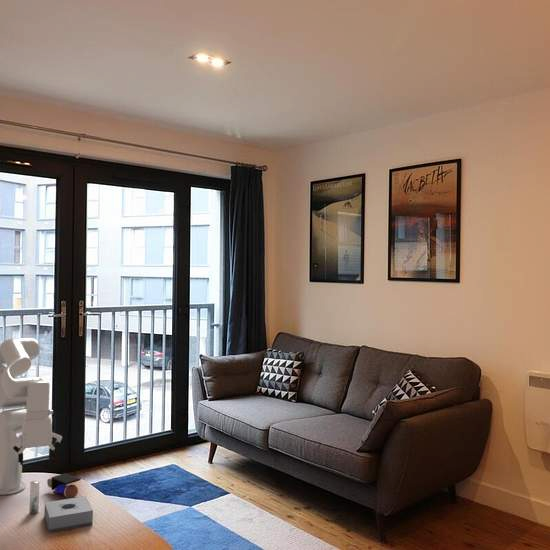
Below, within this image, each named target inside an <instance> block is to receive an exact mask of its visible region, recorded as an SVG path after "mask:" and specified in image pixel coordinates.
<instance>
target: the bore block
mask: <svg viewBox="0 0 550 550" xmlns="http://www.w3.org/2000/svg"><path fill="white" fill-rule="evenodd" d="M93 515H94V510H93V508H92V505H91V503H90V501H89V500H88V498H87V496H85V495H84V496H77V497H73V498H65V499H59V500H53V501H52V500H51V501H47V502H46V501H45V502H44V516H43V517H44V520H45V524H46V527H47V530H48V533H55V532H60V531H65V530H71V529H77V528H82V527H88V526H93V524H94V523H93V522H94V521H93V517H94V516H93Z"/></svg>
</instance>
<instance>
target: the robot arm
mask: <svg viewBox="0 0 550 550" xmlns="http://www.w3.org/2000/svg"><path fill="white" fill-rule="evenodd" d="M39 354H40V344H39V342H38V340H37V339H35V338H33V337H19V338H18V337H17V338H16V337H15V338H8V339H6V340H3V341H2V343H0V410H2V411H1V412H0V496H5V495H6V496H8V495H12V494H16V493H20V492H22V491H24V490H25V488H26V483H25V482H24V481H22V477H23V476H22V472H23V465H24V451H25V450H26V449H31V448H40V447H49V449H48V461H49V462H50V463H51V462H53V459H54V458H55V457H54V455H55V453H54V452H55V449H56V448H57V447H59V445H60V443H61V441H62V439H63V436H62V435H60V434H58V433H55V432H53V429H52V428H53V427H52V418H51V416H50V415H53V414H54V410H53V409H49V408H50V387H51V386H50V382H49V381H48V380H47V379H45V378H44V377H43V376H29V377H19V376H21V375H23V374H25V373H27V372H28V371H29V370H30V369H31V367H32V360H34V359H36V358H37V357H38V355H39ZM4 364H5V365H6V366H5V365H4ZM18 434H21V435H19V436H18ZM53 438H55V439H56V440H55V441H54V442H53Z"/></svg>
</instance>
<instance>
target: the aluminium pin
mask: <svg viewBox="0 0 550 550" xmlns="http://www.w3.org/2000/svg"><path fill="white" fill-rule="evenodd" d="M29 484H30V485H29V488H30V489H29V508H28V509H29V515H37V514H38V513H39V503H40V481H39V480H31V481H30V483H29Z"/></svg>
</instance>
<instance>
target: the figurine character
mask: <svg viewBox="0 0 550 550" xmlns="http://www.w3.org/2000/svg"><path fill="white" fill-rule="evenodd" d="M81 480H82V479H81V478H80V477H77V476H74V475H71V474H69V473H66V472H65V473H61V474H58V475H55V476H52V477H51V478H48V479H47V483H46V484H47V486H48V488H51V491H52V492H53V493H56V494H57V493H60V494H63V495H64V496H65V498H66V499H71V498H76V496H77V494H78V492H79V488H78V487H77V485H75V484H73V483H77V482H79V481H80V482H81Z"/></svg>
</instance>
